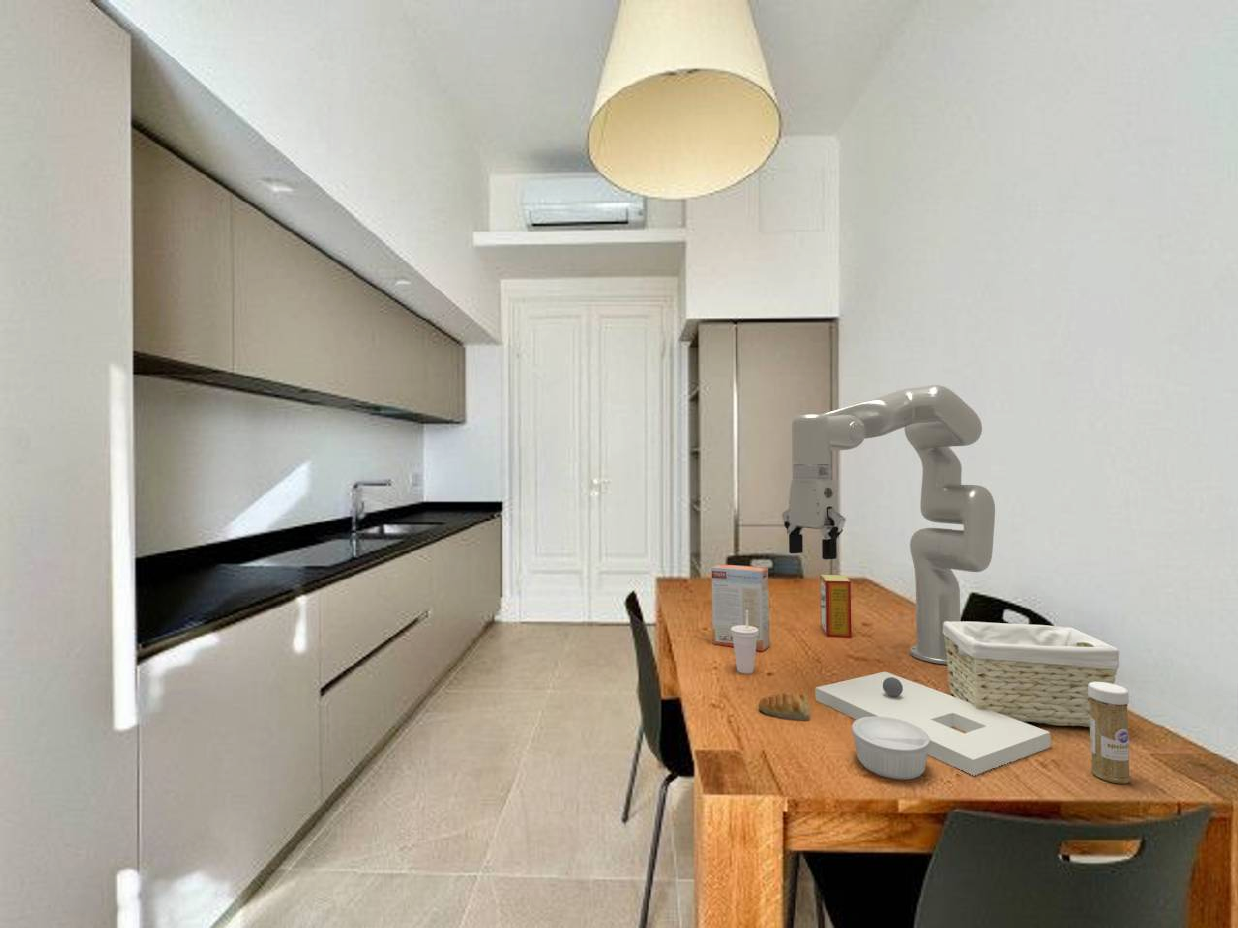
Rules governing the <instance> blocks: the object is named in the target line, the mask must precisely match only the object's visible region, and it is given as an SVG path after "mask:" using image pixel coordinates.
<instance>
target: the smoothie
mask: <svg viewBox="0 0 1238 928" xmlns="http://www.w3.org/2000/svg"><path fill="white" fill-rule="evenodd" d="M731 634H732V636H733V643H734V647H733V649H734V656H735V657H734V658H735V662H736V663H735V664H736V672H738V673H740V674H752V673H754V671H755V670H754V669H755V660H756V659H755V658H756V643H757V635H758V634H759V632H758V629H757V628H756V627H753V626H748V610H746V625H739V626H733V627H732V628H731Z"/></svg>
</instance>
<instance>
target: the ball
mask: <svg viewBox="0 0 1238 928" xmlns="http://www.w3.org/2000/svg"><path fill="white" fill-rule="evenodd" d="M883 689H884V691H885V693H886V694H888V695H889V696H892V697H897V696H899V695H900V694H901V693H902V691H903V686H902V684H901V682H900V681H899V680H898V679H896V678H893V677H889V678H887V679H885V680H884V682H883Z"/></svg>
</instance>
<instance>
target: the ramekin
mask: <svg viewBox="0 0 1238 928" xmlns="http://www.w3.org/2000/svg"><path fill="white" fill-rule="evenodd" d="M851 733H852V734H851V735H852V736H853V740H854V746H855V752H856V753H855V754H856V756H857V760H858V761H859V762H860V763H861V764H862V766H863V767H864V768H866V769H867V770H868V771H870V772H872V773H874V774H876V775H879V776H881V777H884V778H888V779H894V780H912V779H916V777H917V778H918V777H920V776H921V775H922V774H923V773H924V772H925V770H926V766H927V762H928V761H927V760H928V749H929V747H930V738H929V736H928V735H927V733H926V732H925V731H923V730H922V729H921V728H919V727H917V726H915V725H913V724H911V723H908V722H906V721H902V720H899V719H894V718H888V717H863V718H860V719H858V720H856V719H855V721H854V722H853V723H852V725H851Z"/></svg>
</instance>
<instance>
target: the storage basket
mask: <svg viewBox="0 0 1238 928" xmlns="http://www.w3.org/2000/svg"><path fill="white" fill-rule="evenodd" d="M943 634H944V635H945V636H944V640H945V643H946V646H945V648H946V654H947V663H948V665H947V671H948V672H947V673H948V675H947V676H948V684H949V685H948V688H949V691H950V693H951V695H953V697H956V698H959V699H961V700H964V701H967V702H969V703H972V704H973V705H974V706H975V708H977V709H985V710H991V711H994V712H997V713H999V714H1002V715H1005V716H1008V717H1010V718H1013V719H1016V720H1018V721H1021V722H1024V723H1028V722H1029V723H1030V722H1031V723H1037V724H1046V725H1049V726H1050V725H1051V726H1061V727H1063V726H1071V727H1075V726H1078V727H1079V726H1080V727H1085V728H1087V727H1088V728H1090V699H1089V697H1090V696H1089V695H1088V684H1089V683H1091V682H1106V683H1111V684H1115V683H1116V675H1117V672H1118V671H1117V670H1118V669H1119V668H1120V651H1119V649H1118V648H1117V647H1115V646H1114V645H1113V646H1112V645H1111V644H1108V643H1106V642H1104V641H1102V640H1100V639H1098V638H1096V637H1094V636H1091V635H1089V634H1086V633H1085V632H1082V631H1080V630H1078V629H1076V628H1073V627H1070V626H1069V627H1066V626H1065V627H1064V626H1063V627H1062V626H1054V625H1045V624H1031V623H1030V624H1029V623H1028V624H1027V623H1007V622H1006V623H1004V622H1003V623H1002V622H1001V623H1000V622H986V621H967V620H966V621H960V622H956V621H953V622H949V621H946V622H944V623H943Z"/></svg>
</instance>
